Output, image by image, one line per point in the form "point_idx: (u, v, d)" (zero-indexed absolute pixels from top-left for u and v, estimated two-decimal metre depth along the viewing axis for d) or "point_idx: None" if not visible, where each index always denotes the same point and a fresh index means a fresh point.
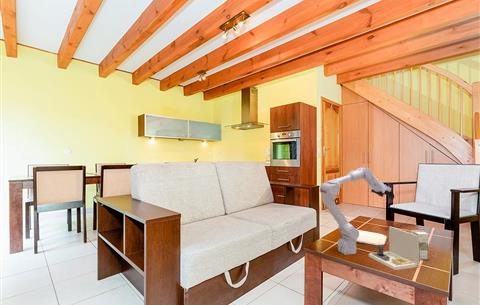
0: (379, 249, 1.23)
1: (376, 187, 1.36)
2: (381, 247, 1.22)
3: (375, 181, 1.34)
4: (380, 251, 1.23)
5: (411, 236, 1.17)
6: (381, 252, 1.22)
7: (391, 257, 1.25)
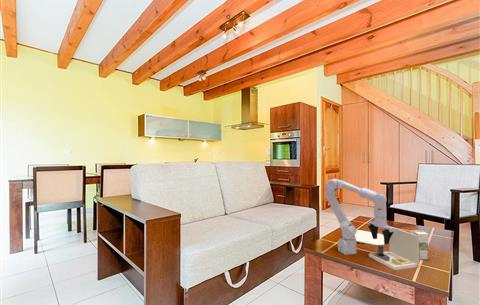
0: (379, 249, 1.23)
1: (379, 220, 1.22)
2: (381, 247, 1.22)
3: (378, 214, 1.22)
4: (380, 251, 1.23)
5: (411, 236, 1.17)
6: (381, 252, 1.22)
7: (391, 257, 1.25)
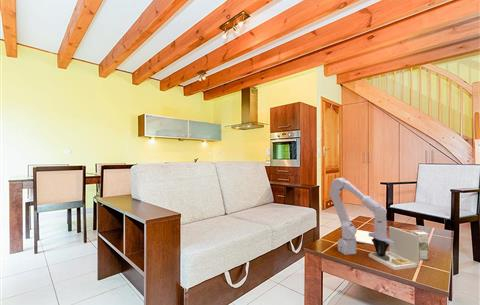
0: (379, 249, 1.23)
1: (380, 233, 1.21)
2: None
3: (379, 226, 1.22)
4: None
5: (411, 236, 1.17)
6: None
7: (391, 257, 1.25)
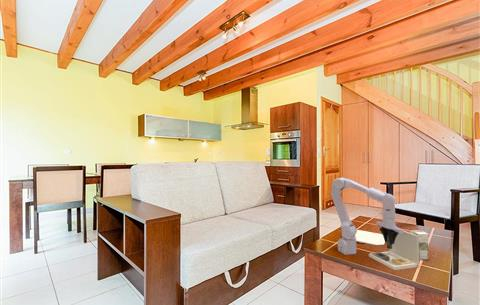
0: (388, 238, 1.20)
1: (388, 222, 1.19)
2: None
3: (387, 215, 1.19)
4: (388, 240, 1.20)
5: (411, 236, 1.17)
6: None
7: (391, 257, 1.25)
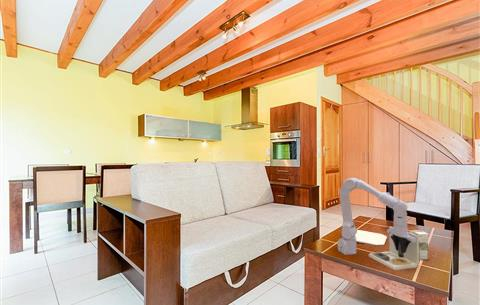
0: (399, 246, 1.16)
1: (400, 230, 1.15)
2: None
3: (398, 222, 1.15)
4: (400, 248, 1.16)
5: None
6: None
7: (391, 257, 1.25)
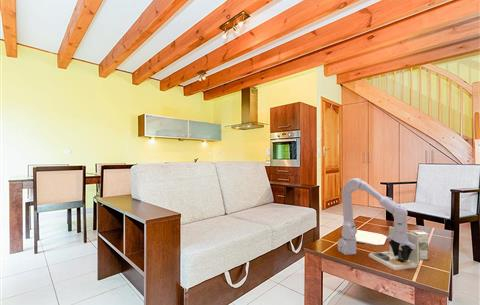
0: (399, 254, 1.16)
1: (400, 236, 1.15)
2: (401, 252, 1.16)
3: (399, 229, 1.15)
4: (400, 256, 1.16)
5: (411, 236, 1.17)
6: (401, 257, 1.16)
7: (391, 257, 1.25)
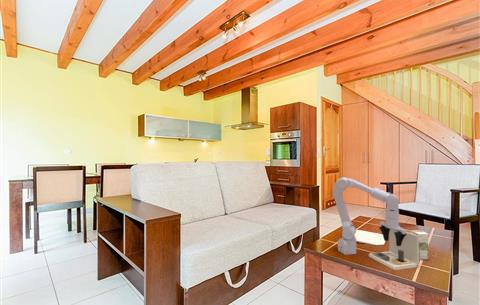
0: (399, 254, 1.16)
1: (391, 222, 1.19)
2: (401, 252, 1.16)
3: (391, 215, 1.19)
4: (400, 256, 1.16)
5: (411, 236, 1.17)
6: (401, 258, 1.16)
7: (391, 257, 1.25)
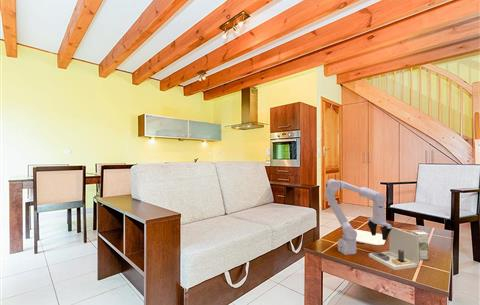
0: (399, 254, 1.16)
1: (378, 218, 1.27)
2: (402, 252, 1.16)
3: (379, 211, 1.27)
4: (400, 256, 1.16)
5: (411, 236, 1.17)
6: (402, 258, 1.15)
7: (391, 257, 1.25)
